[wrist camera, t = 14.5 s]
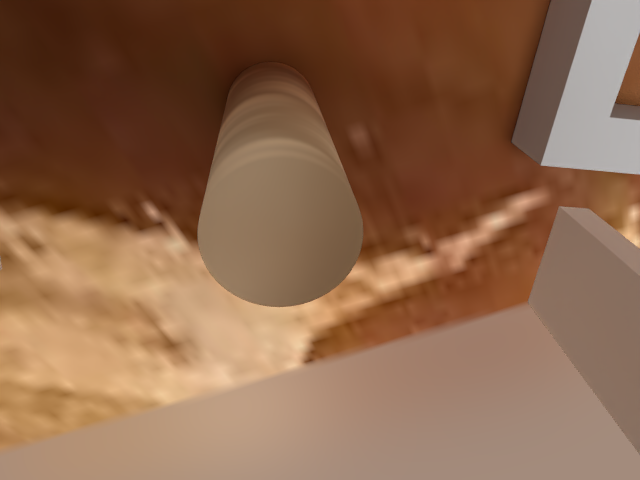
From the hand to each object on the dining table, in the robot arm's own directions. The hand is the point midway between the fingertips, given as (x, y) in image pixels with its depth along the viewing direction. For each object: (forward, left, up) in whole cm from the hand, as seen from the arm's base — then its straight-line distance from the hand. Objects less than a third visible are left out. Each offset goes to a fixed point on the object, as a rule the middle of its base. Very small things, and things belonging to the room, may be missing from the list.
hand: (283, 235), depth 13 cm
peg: (0, 0, -11) cm, 11 cm away
